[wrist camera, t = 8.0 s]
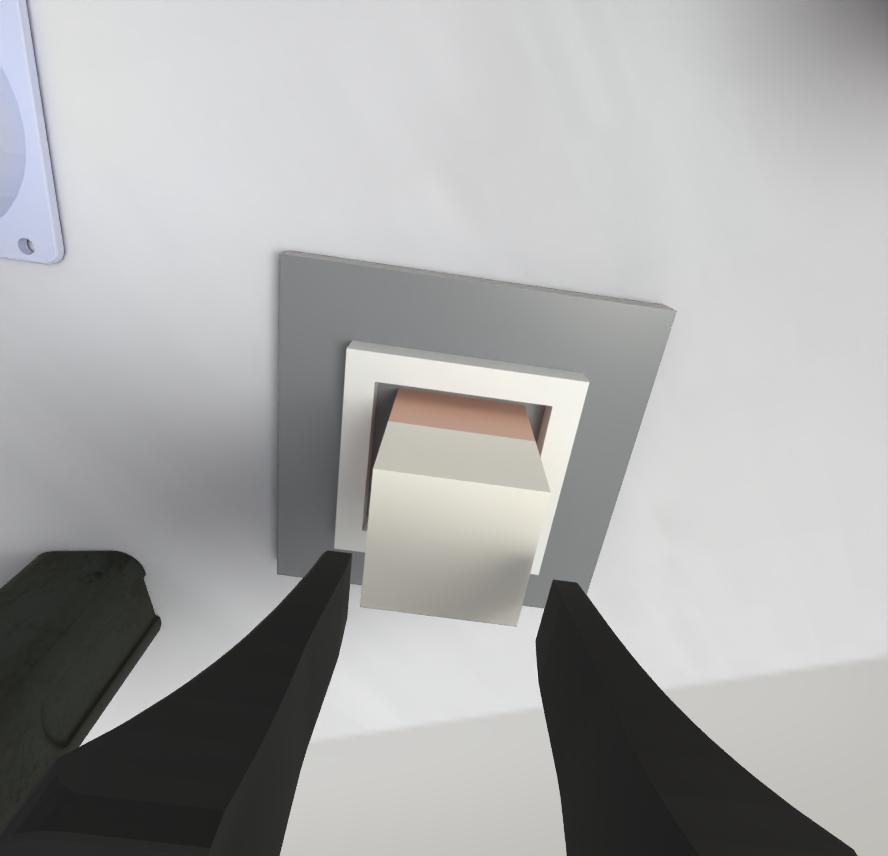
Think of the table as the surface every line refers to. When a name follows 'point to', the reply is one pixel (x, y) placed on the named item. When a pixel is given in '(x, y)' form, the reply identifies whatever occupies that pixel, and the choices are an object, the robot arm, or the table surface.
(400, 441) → the brick stack
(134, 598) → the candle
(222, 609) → the table surface
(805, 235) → the table surface
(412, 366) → the baseplate
